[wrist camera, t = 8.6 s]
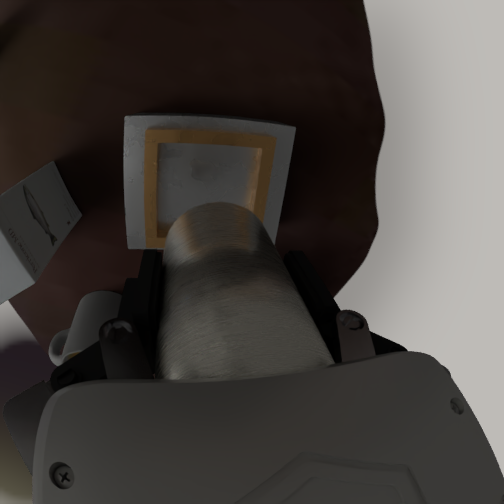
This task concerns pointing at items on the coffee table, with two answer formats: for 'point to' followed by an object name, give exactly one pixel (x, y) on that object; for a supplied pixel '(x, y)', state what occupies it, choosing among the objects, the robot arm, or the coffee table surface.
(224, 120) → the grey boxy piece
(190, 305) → the spout can
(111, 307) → the coffee mug
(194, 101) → the coffee table surface
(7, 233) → the supplement box
